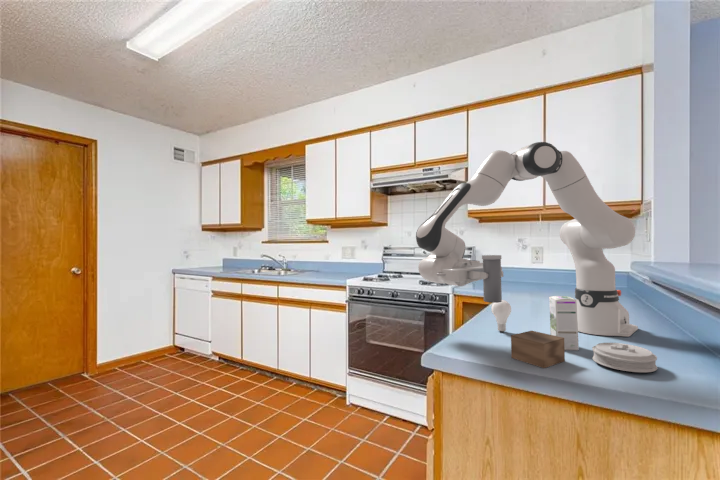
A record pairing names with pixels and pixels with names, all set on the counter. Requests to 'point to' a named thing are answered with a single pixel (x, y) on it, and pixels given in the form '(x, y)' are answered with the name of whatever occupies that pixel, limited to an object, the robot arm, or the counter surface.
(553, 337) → the walnut stand
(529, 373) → the counter surface
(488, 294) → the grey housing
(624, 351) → the lid
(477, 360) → the counter surface
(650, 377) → the counter surface
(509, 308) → the lightbulb
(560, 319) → the syrup box
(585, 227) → the robot arm
